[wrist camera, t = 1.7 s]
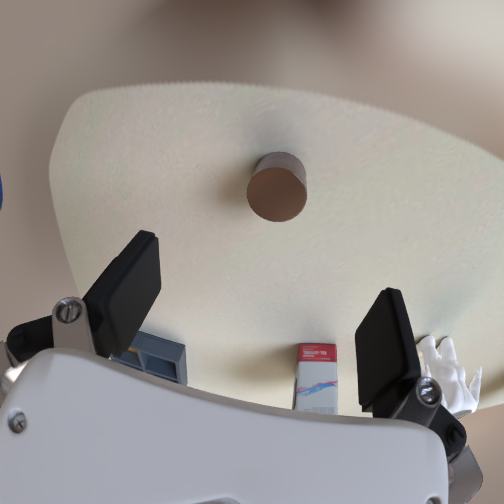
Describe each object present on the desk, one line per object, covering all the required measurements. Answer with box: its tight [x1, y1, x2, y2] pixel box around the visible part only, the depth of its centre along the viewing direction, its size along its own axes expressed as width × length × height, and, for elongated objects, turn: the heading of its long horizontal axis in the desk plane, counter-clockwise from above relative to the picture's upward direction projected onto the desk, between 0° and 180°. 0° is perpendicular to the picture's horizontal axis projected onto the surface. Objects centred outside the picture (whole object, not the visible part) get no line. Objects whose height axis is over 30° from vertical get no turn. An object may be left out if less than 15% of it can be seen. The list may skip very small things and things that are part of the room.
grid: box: [110, 331, 187, 386], centre depth 40 cm, size 13×13×3 cm
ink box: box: [292, 344, 338, 415], centre depth 30 cm, size 9×5×12 cm, turn 2°
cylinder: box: [247, 152, 307, 222], centre depth 20 cm, size 4×4×4 cm
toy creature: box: [416, 335, 482, 419], centre depth 25 cm, size 12×6×12 cm, turn 82°
